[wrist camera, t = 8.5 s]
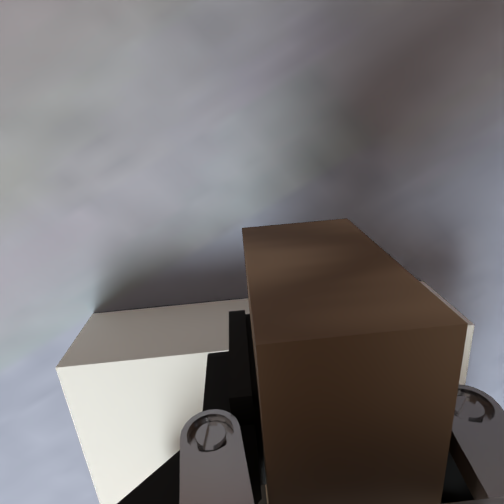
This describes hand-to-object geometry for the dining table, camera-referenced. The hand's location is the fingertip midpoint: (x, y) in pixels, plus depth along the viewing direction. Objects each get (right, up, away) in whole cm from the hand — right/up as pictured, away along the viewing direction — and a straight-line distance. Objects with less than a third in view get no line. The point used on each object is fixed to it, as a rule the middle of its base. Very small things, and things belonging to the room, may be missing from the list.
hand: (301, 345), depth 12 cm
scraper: (0, -1, +1) cm, 1 cm away
